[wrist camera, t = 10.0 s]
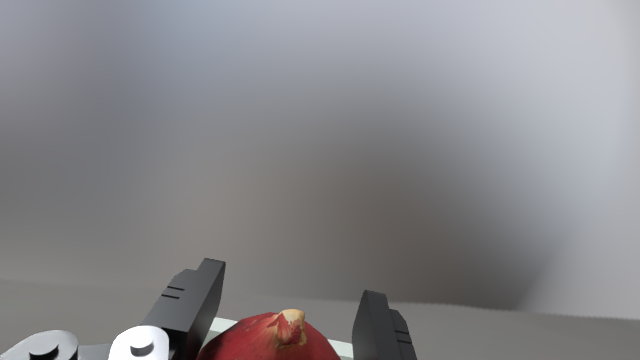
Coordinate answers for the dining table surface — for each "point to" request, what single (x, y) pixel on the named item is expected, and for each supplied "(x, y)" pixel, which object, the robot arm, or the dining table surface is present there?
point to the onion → (270, 340)
